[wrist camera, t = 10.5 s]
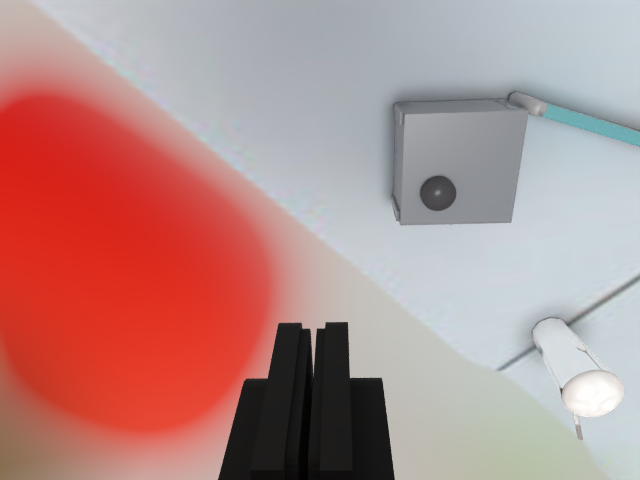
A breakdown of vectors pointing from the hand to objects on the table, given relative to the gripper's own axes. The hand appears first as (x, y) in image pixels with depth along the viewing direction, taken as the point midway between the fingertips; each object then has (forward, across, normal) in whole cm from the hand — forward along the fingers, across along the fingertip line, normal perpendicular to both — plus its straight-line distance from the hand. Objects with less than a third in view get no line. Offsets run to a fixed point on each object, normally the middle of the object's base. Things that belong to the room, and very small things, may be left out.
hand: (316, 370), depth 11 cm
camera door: (+27, -20, 0) cm, 33 cm away
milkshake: (+27, -20, +20) cm, 39 cm away
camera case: (+27, -9, +2) cm, 29 cm away
